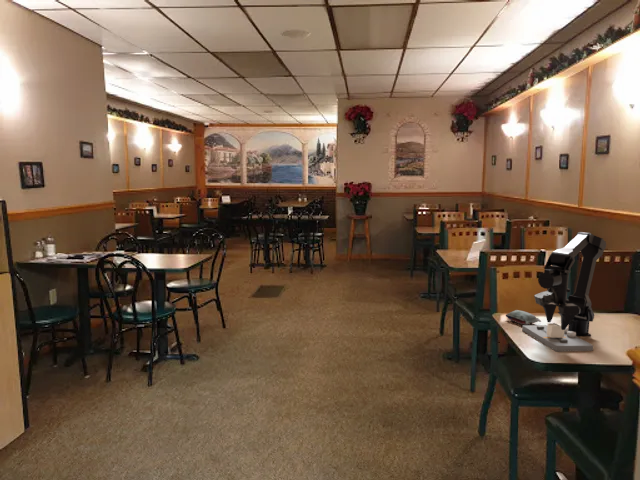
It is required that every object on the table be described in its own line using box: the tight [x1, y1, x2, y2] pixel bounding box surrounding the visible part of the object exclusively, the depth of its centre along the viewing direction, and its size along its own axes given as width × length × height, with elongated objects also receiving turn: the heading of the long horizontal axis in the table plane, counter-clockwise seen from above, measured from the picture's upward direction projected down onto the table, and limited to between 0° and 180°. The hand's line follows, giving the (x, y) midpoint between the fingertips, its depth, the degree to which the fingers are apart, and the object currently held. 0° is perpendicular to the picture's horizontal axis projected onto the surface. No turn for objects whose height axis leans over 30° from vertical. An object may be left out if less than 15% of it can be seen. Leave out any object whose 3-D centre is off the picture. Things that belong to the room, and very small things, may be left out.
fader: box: [547, 322, 565, 338], centre depth 180 cm, size 3×5×5 cm, turn 95°
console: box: [521, 324, 594, 352], centre depth 183 cm, size 24×14×4 cm, turn 5°
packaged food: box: [505, 309, 542, 325], centre depth 205 cm, size 9×12×5 cm
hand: (555, 325), depth 179 cm, fingers open, 9 cm apart
